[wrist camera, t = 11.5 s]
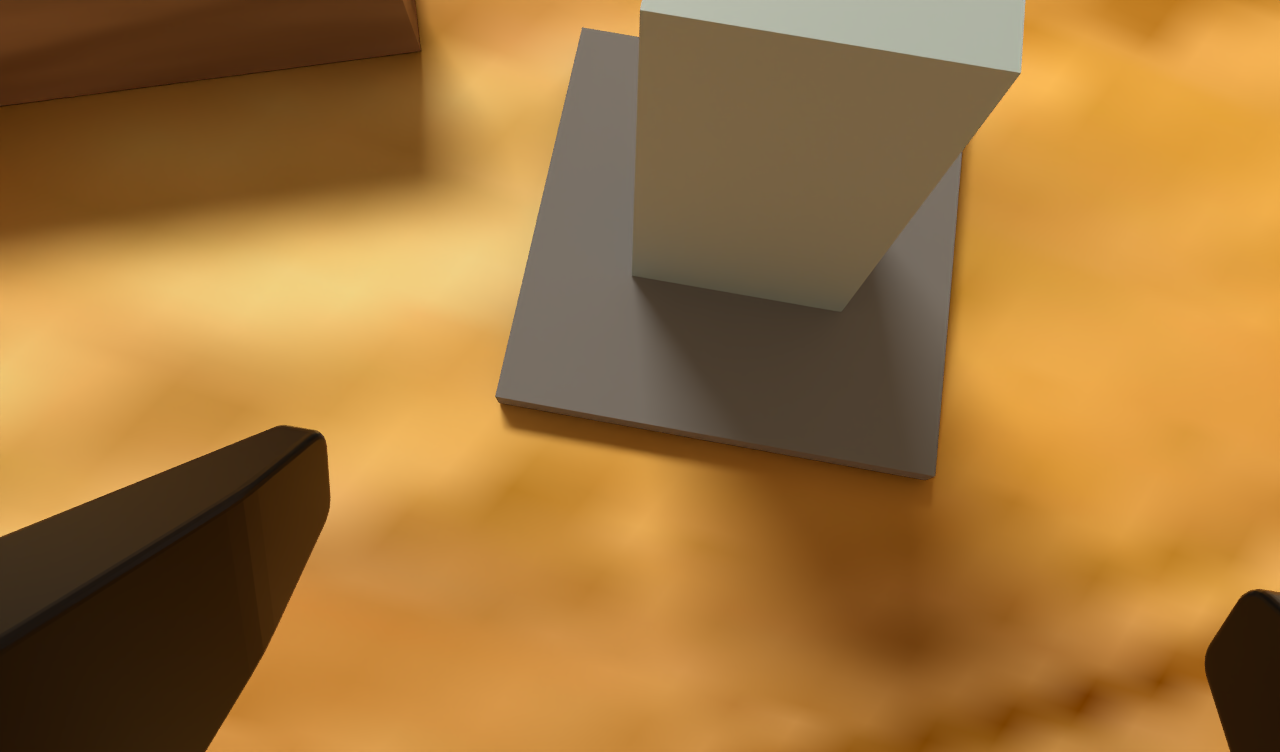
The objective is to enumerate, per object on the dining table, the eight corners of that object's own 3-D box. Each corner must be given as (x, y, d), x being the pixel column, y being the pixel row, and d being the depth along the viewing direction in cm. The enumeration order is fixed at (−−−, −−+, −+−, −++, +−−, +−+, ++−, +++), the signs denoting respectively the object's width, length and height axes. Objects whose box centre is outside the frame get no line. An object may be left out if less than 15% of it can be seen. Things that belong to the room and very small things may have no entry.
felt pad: (925, 480, 19) (935, 476, 18) (499, 403, 19) (495, 396, 19) (957, 106, 22) (967, 92, 21) (583, 42, 22) (581, 27, 21)
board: (841, 312, 19) (1020, 72, 11) (631, 275, 19) (640, 9, 11) (855, 198, 20) (1031, -110, 11) (653, 164, 20) (677, -167, 12)
